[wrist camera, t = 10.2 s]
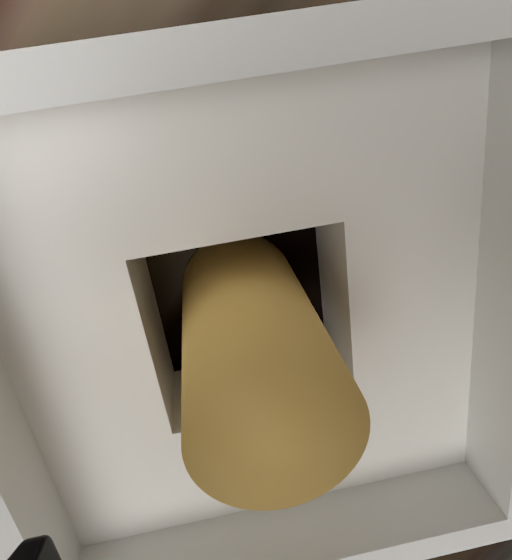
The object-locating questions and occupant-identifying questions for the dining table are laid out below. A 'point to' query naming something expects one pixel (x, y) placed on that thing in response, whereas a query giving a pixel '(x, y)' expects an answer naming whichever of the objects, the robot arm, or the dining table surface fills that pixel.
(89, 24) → the dining table surface
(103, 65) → the socket box
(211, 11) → the dining table surface
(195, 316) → the peg
